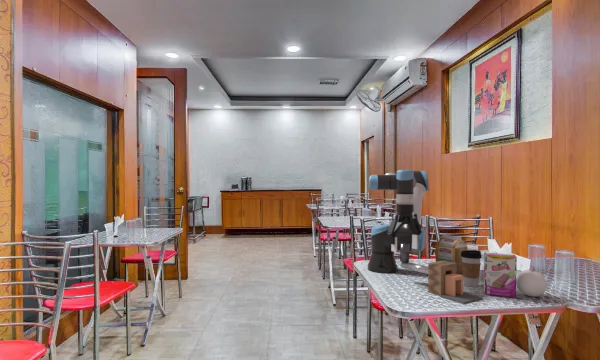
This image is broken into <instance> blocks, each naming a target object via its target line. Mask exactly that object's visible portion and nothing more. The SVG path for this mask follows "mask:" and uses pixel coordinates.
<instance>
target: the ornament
mask: <svg viewBox="0 0 600 360" xmlns="http://www.w3.org/2000/svg"><path fill="white" fill-rule="evenodd" d="M547 286H548V284H547V280H546V278H545V276H544V274H543V273H540V272H539V271H537V270H536V269H535V266H534V265H531V266H530V269H524V270H522V271H520V272H519V273H518V274H517V275H516V288H517V290H518V291H519V292H521V293H522V294H523V295H525V296H528V297H532V298H533V297H534V298H535V297H540V296H542V295H544V293H545V292H547V291H546V290H547Z"/></svg>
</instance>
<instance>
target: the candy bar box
mask: <svg viewBox="0 0 600 360" xmlns="http://www.w3.org/2000/svg"><path fill="white" fill-rule="evenodd" d="M517 259H518V258H517V256H516V255H515V254H511V253H501V252H500V253H497V252H486V251H485V252H483V294H484V295H486V296H493V297H501V298H502V297H505V298H514V299H515V298H516V299H517V284H516V279H517V262H518V261H517Z"/></svg>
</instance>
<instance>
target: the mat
mask: <svg viewBox="0 0 600 360" xmlns="http://www.w3.org/2000/svg"><path fill="white" fill-rule="evenodd" d="M439 297H440V298H443V299H446V300H450V301H453V302H456V303H459V304H462V305H465V304H468V303H473V302H477V301H480V300H483V297H482V296H478V295H476V294H472V293H468V292H464V291H463V295H460V294H456V296H455V297H453V296H450V295H447V294H444V295H440V296H439Z"/></svg>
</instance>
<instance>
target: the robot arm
mask: <svg viewBox="0 0 600 360" xmlns="http://www.w3.org/2000/svg"><path fill="white" fill-rule="evenodd" d="M429 185H430V184H429V176H428V172H427V171H426V170H412V169H398V170H396V171H392V172H388V173H385V174H371V175H370V176H369V178H368V188H369V189H370V190H371V191H372V190H373V191H396V198H395V199H396V200H395V201H396V203H397V204H396V213H397V214H391V215H392V216H391V220H390V223H388V224H379V225H374V226H372V228H371V231H370V232H371V233H370V240H371V241H370V243H371V244H370V245H371V246H370V251H371V252H370V257H369V261H368V262H367V270H369V271H371V272H375V273H382V274H383V273H385V274H386V273H387V274H389V273H390V274H391V273H392V274H393V273H396V272H398V270H399V269H398V264H397V260H396V258H395V257H396V256H395V253H397V252H398V251H399V252H400V243H408V244H409V252H412V253H420V252H422V251H424V248H425V246H426V245H425V244H426V238H427V230H426V229H425V228H424V226H423V225H422V223H421V222H422V210H423V208H422V207H423V196H424V195H425V194H426V193H427V192H428V191H429V190H430V186H429Z"/></svg>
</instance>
